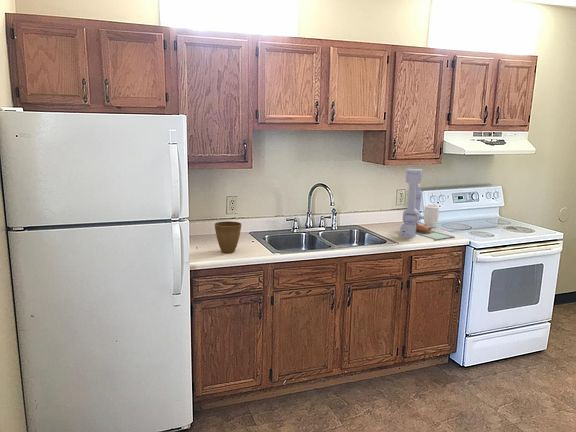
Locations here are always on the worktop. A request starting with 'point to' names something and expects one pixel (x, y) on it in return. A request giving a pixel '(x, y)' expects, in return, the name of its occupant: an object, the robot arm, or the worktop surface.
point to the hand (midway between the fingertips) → (414, 227)
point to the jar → (431, 215)
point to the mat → (435, 235)
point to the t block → (423, 228)
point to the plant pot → (228, 235)
